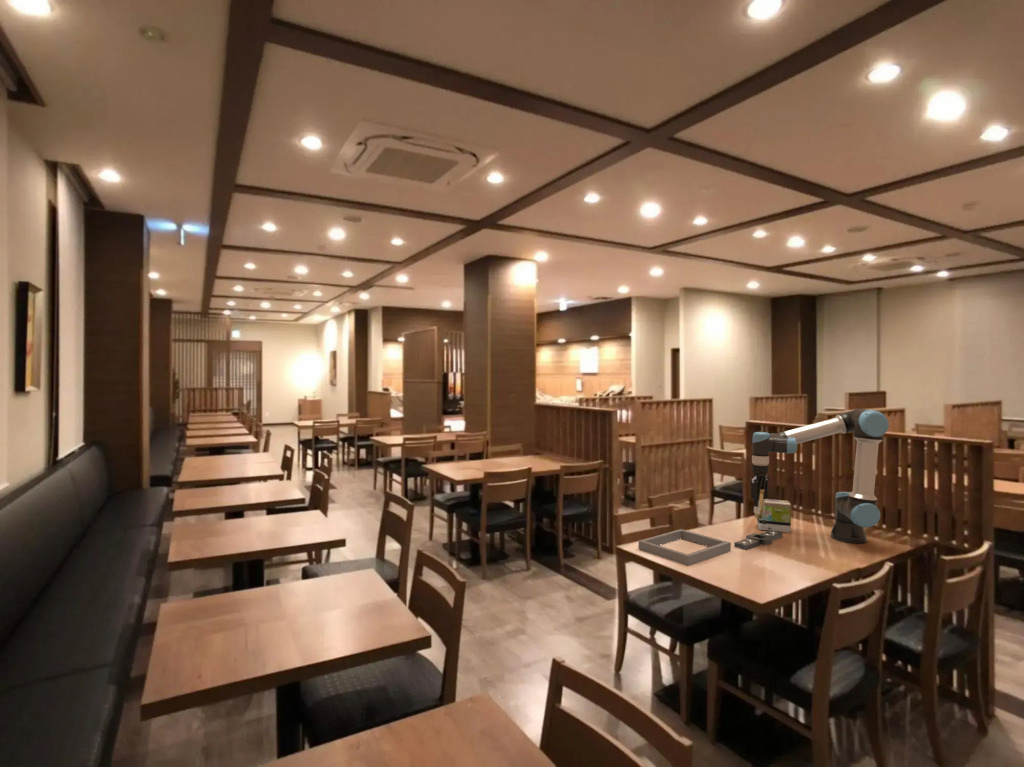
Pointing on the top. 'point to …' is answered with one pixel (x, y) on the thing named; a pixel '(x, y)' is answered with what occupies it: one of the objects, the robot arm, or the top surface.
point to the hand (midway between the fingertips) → (759, 512)
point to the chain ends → (758, 539)
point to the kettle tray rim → (688, 559)
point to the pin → (760, 516)
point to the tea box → (776, 516)
